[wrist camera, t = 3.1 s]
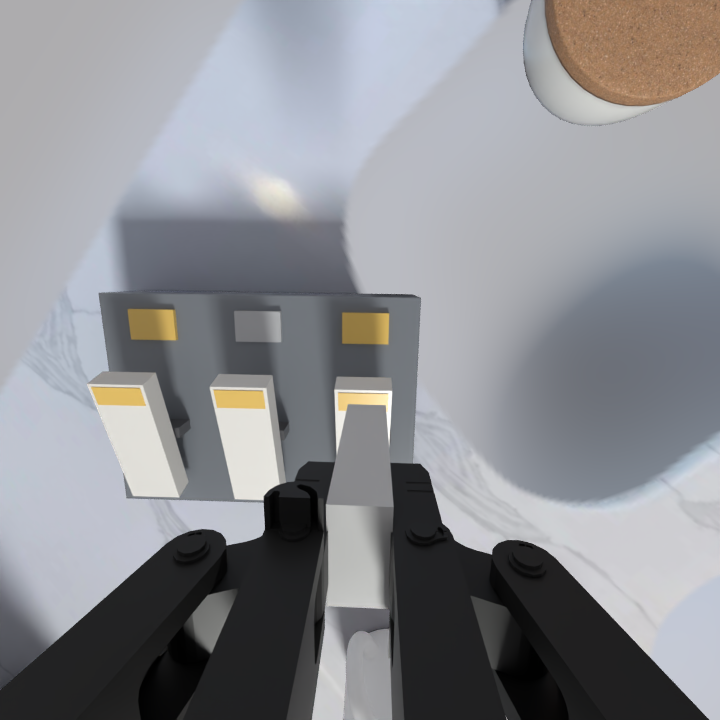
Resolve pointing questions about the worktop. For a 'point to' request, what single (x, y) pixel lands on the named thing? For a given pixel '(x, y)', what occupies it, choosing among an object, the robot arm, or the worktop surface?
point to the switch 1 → (140, 432)
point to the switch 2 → (249, 433)
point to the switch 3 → (361, 397)
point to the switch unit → (264, 366)
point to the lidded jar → (618, 55)
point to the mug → (368, 677)
